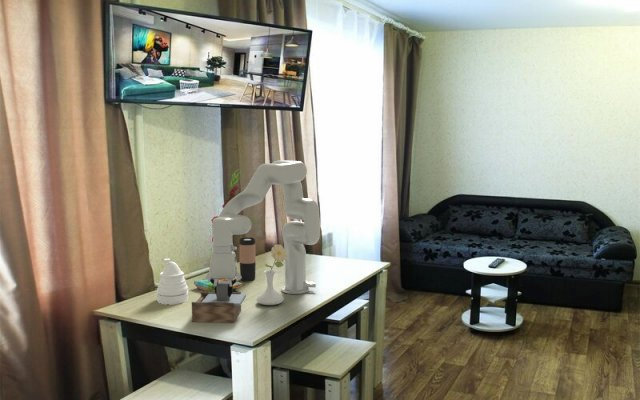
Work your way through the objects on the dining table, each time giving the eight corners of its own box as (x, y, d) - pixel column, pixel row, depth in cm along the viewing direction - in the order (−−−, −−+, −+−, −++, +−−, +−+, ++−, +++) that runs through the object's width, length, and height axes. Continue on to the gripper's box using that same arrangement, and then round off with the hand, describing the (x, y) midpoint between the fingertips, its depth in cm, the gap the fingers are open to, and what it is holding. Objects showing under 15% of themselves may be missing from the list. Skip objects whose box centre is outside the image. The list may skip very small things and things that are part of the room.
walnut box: (241, 310, 227) (240, 292, 226) (234, 322, 213) (233, 303, 212) (201, 310, 228) (201, 291, 227) (192, 321, 214) (191, 302, 213)
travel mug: (237, 280, 273) (236, 239, 270) (244, 276, 280) (244, 236, 278) (251, 281, 270) (250, 240, 268) (258, 278, 277) (258, 237, 275)
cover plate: (246, 296, 225) (245, 279, 225) (240, 306, 214) (239, 288, 213) (209, 296, 226) (208, 278, 225) (200, 305, 214) (200, 287, 214)
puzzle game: (213, 274, 268) (242, 281, 255) (214, 283, 268) (242, 291, 255) (193, 279, 259) (222, 286, 246) (194, 289, 259) (222, 297, 246)
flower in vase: (261, 308, 230) (260, 248, 227) (253, 301, 240) (252, 243, 237) (291, 305, 235) (291, 245, 232) (282, 297, 245) (281, 240, 242)
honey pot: (162, 306, 233) (160, 263, 231) (153, 298, 244) (152, 257, 242) (192, 301, 240) (191, 259, 238) (182, 293, 251) (181, 254, 248)
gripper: (246, 247, 221) (247, 293, 223) (203, 247, 222) (205, 292, 224) (242, 251, 213) (243, 298, 215) (198, 251, 214) (200, 298, 216)
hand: (223, 295), depth 220 cm, fingers closed on cover plate, 4 cm apart
